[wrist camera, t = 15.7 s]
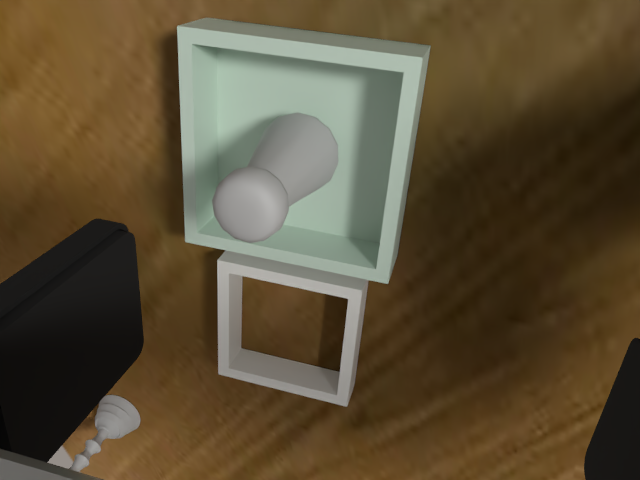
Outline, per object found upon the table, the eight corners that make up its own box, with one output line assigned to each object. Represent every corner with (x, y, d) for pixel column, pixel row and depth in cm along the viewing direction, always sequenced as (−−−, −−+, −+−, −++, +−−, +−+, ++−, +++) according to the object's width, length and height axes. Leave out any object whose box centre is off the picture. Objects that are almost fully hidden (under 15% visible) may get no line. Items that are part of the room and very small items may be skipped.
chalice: (89, 379, 63) (-44, 523, 48) (147, 397, 62) (29, 550, 47) (93, 428, 67) (-29, 577, 51) (148, 446, 66) (39, 603, 50)
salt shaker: (327, 193, 45) (270, 277, 34) (261, 159, 46) (182, 232, 34) (358, 126, 42) (306, 195, 31) (287, 90, 43) (210, 146, 31)
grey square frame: (369, 271, 48) (362, 290, 46) (354, 384, 54) (347, 406, 51) (231, 243, 50) (217, 260, 48) (231, 354, 56) (218, 374, 54)
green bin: (430, 45, 39) (422, 57, 35) (397, 255, 47) (388, 284, 43) (206, 17, 42) (177, 25, 38) (209, 218, 50) (185, 241, 46)
